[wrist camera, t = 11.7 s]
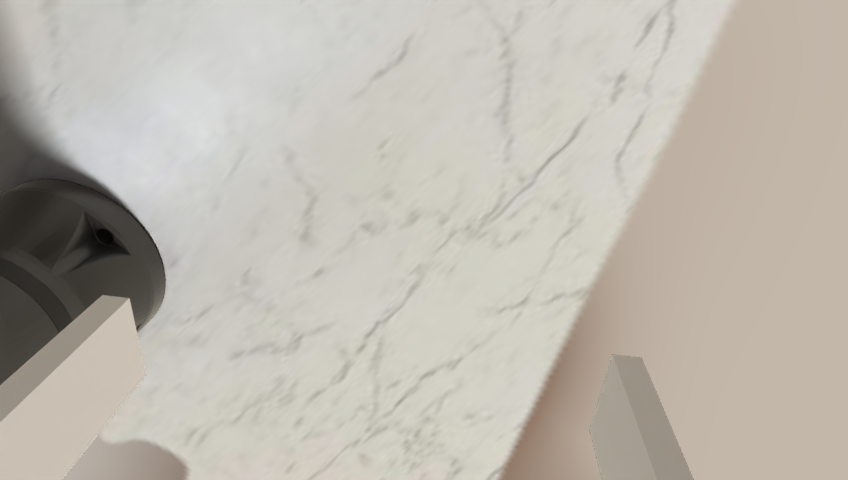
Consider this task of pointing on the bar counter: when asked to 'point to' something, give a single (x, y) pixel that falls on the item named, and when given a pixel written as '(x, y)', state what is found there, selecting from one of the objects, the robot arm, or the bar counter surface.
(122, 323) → the robot arm
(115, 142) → the bar counter surface
